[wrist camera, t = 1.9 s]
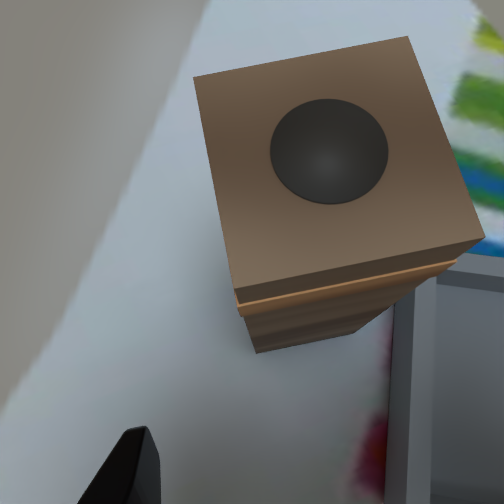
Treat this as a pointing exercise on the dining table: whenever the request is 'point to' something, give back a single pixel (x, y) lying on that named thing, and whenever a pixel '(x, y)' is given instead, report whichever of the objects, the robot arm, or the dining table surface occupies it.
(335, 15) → the dining table surface
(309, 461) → the dining table surface
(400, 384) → the tray
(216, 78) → the block
